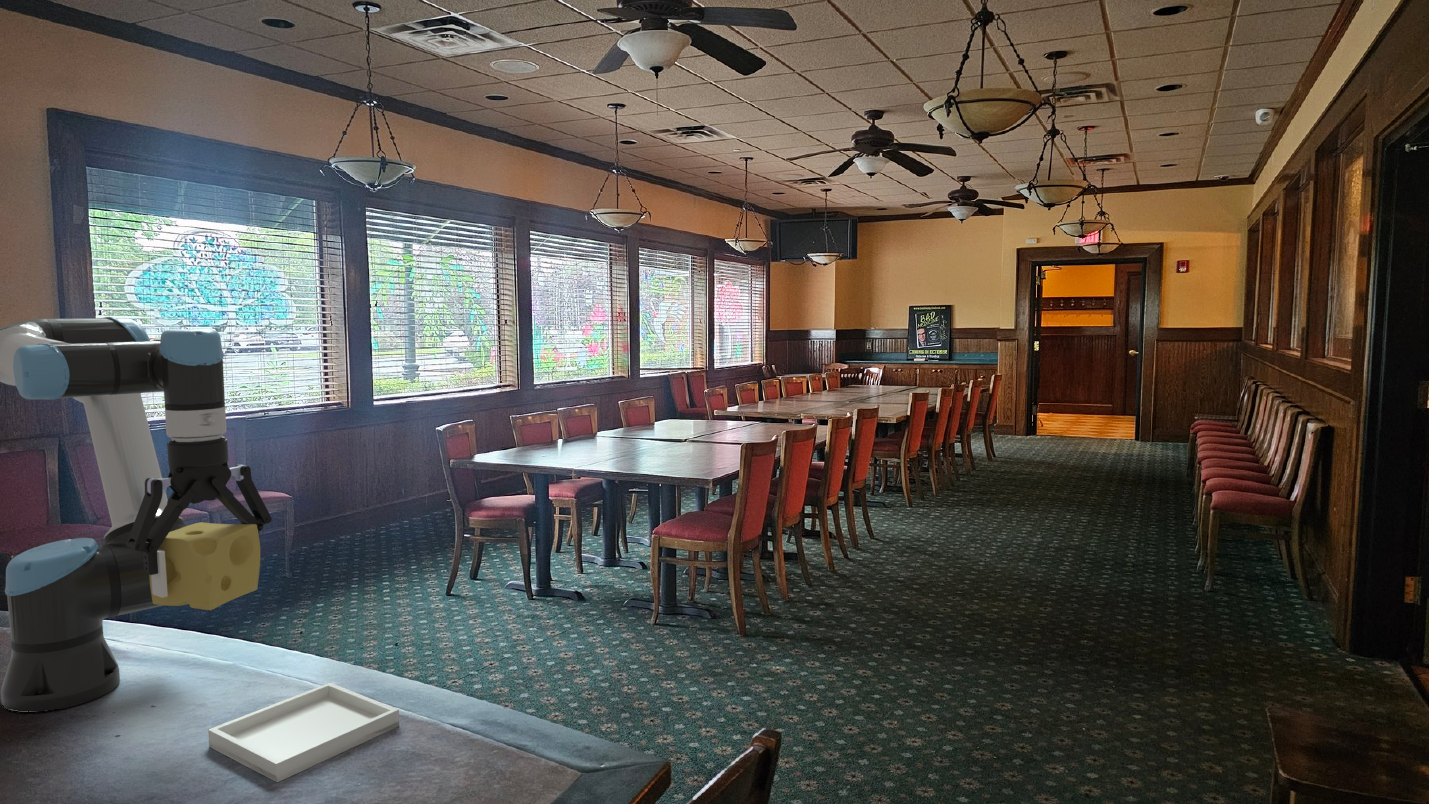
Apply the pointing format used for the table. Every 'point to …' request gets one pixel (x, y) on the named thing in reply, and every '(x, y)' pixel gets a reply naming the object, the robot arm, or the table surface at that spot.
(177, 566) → the cheese
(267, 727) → the serving tray
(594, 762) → the table surface
